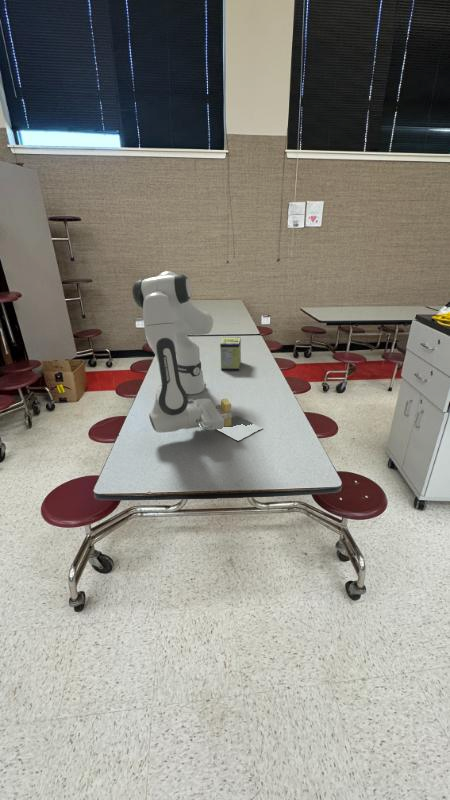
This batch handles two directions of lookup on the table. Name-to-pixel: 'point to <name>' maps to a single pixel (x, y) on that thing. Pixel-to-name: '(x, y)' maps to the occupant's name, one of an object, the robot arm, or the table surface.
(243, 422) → the mat
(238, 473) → the table surface
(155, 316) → the robot arm
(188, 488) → the table surface
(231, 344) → the protein box
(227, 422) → the box
